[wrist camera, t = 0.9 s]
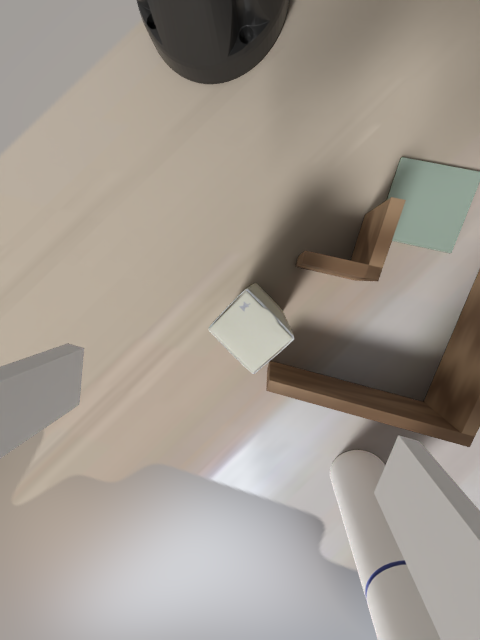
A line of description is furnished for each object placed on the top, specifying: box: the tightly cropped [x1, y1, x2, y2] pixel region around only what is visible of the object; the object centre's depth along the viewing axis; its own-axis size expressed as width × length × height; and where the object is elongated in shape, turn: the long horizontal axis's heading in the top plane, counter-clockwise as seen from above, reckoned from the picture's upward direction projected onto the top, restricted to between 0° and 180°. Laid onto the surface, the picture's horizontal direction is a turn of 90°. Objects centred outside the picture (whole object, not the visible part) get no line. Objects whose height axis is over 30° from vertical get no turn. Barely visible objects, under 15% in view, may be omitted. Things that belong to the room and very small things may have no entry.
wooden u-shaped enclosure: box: [266, 197, 480, 447], centre depth 25 cm, size 20×20×6 cm
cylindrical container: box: [330, 450, 441, 640], centre depth 20 cm, size 7×7×25 cm
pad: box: [387, 157, 480, 253], centre depth 26 cm, size 8×8×1 cm
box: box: [209, 283, 295, 374], centre depth 24 cm, size 5×4×13 cm
